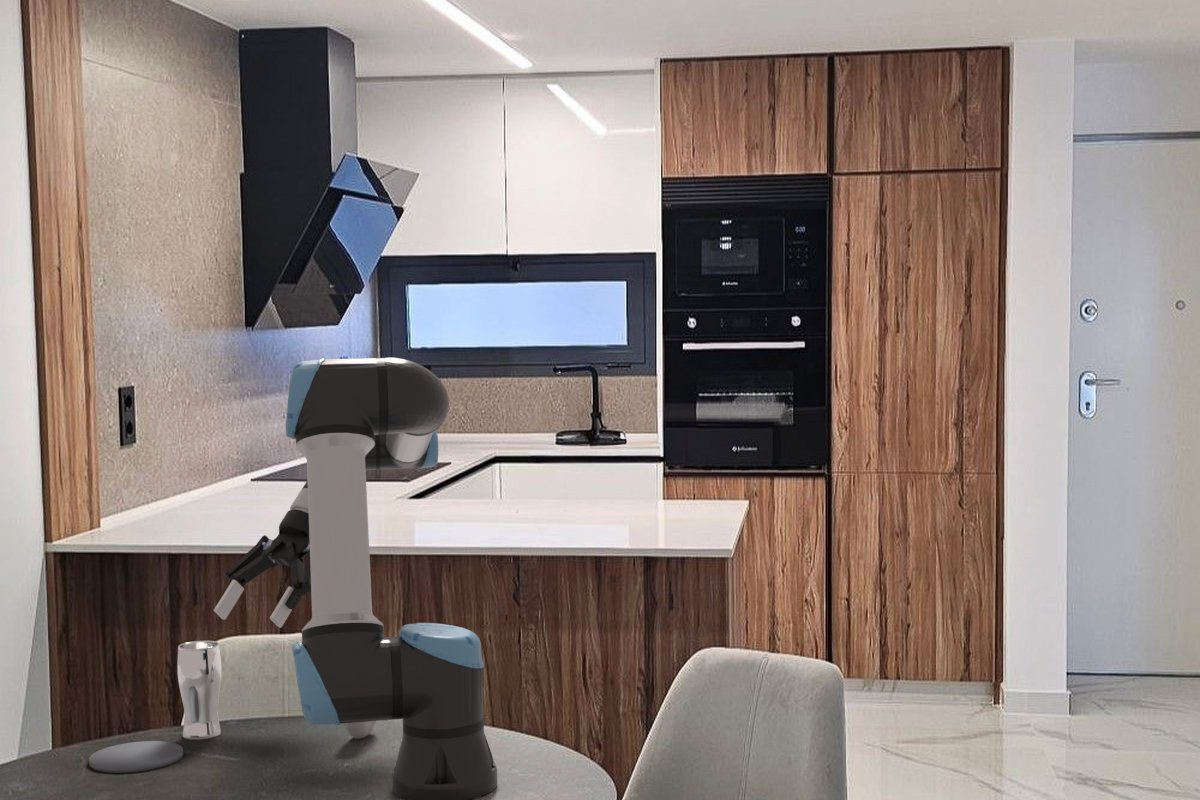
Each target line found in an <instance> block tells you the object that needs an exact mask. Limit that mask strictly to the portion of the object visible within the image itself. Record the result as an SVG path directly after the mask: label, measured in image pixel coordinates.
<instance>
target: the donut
mask: <svg viewBox="0 0 1200 800" xmlns="http://www.w3.org/2000/svg"><path fill="white" fill-rule="evenodd" d="M376 722H377V721H367V722H354V723H343V724H344V728H345V730H346V732H347V733H348V735H349V736H351V737H352V738H354V739H362V738H366V737H368V736H369V734H370V733H372V731H373V729H374V727H375V725H376Z"/></svg>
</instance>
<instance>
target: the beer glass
mask: <svg viewBox="0 0 1200 800" xmlns="http://www.w3.org/2000/svg"><path fill="white" fill-rule="evenodd" d="M177 681H178V686H179V691H180V696H181V700H182V706H183V710H184V711H183V713H184V722H183V723H184V724H183V728H182V729H183V730H182V737H183V739H186V740H193V741H198V740H199V741H200V740H208V739H212V738H216V737H218V736H220V735H221V732H222V729H221V726H220V721H219V712H218V710H219V707H218V706H219V699H220V692H221V684H222V657H221V651H220V643H219V641H215V640H194V641H188V642H183V643H181V644H178V646H177Z"/></svg>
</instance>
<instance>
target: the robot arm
mask: <svg viewBox="0 0 1200 800" xmlns="http://www.w3.org/2000/svg"><path fill="white" fill-rule="evenodd" d="M286 407H287V408H286V421H285V436H286V437H287V438H289V439H291V440H295V450H296V451H297V452H299V454H301V455H302V456H303V457H304V458H305V459H306V470H307V471H306V474H307V476H306V479H307V480H306V482H305V483H304V485H303V487H302V488H301V490H300V491H299V492H298V494H297V496H296V497H295V498H294V500H293V502H292V503H291V504H290V507H289V510H288V511H287V512H286V514H285V515H284V517H283V518H282V520H281V522H280V523H279V526H278V535H277V536H276V537H275V538H274V539H271V538H269V537H268V536H267V535H265V534H264V535H263V536H262V537H260V539H259V540H258V541H257V543H256V544H255V545H254V546H253V547H252V548H251V549H249V551H248V552H246V553H245V554H244V555H243V556H241V558H240V559H238V560H237V561H236V562H235V563H234V564H233V565H231V567H230V568H228V569H227V570H226V571H225V572H224V576H225V577H226V578H227V579H228V580H229V583H227V586H226V587H225V589H224V590H223V592H222V593H221V598H220V599H219V601H218V602H217V604H216V606H215V607H214V609H213V611H214V613H215V614H216V615H217V616H218V617H219V618H220V619H221V620H224V621H225V620H226V619H227V618H228V616H229V615H230V613H231V611H232V610H233V608H234V607H235V605H236V604H237V602H238V600H239V599H240V597H241V595H242V594H243V592H244V591H245V588H244V586H245V585H247V584H248V583H249V582H250V581H253V580H254V579H255V578H257V577H258V576H259V575H261V574H263V573H264V572H266V571H267V570H268V569H270V568H275V567H277V566H287V567H290V571H291V572H290V573H291V579H292V583H290V584H291V586H288V587H287V588H286V590H285V592H284V594H283V595H282V597H281V598H280V600H279V602H277V605H276V606H275V609H274V610H273V612H272V613H271V615H270V617H269V619H270V621H271V622H272V623H273V624H274V625H276V627H277V628H281V629H282V628H283V626H284V624H285V623H286V620H287V619H288V618H289V616H290V614H291V612H292V610H295V609H296V607H297V606H298V604H299V602H300V601H301V599H302V597H303V596H305V595H306V594H307V593H310V595H311V596H310V597H311V618H310V620H309V621H308V622H307V623H306V624H305V625H304V626H303V628H302V629H301V641H296V643H293V644H292V647H291V649H292V650H291V651H292V657H293V662H294V663H293V664H294V670H295V674H296V675H295V676H296V681H297V682H296V683H297V688H298V693H299V699H300V705H301V706H300V707H301V711H302V715H303V717H304V719H305V721H307V722H308V723H309V724H312V725H336V726H340V725H341V724H344V723H354V722H367V721H376V722H377V721H392V720H402V739H401V744H400V746H399V749H398V750H399V751H398V754H397V758H396V763H395V766H394V768H393V770H392V774H391V786H392V787H391V789H392V790H391V791H392V792H393V793H394V794H395V795H396V796H397V797H400V798H402V799H404V800H473V799H476V798H479V797H482V796H485V795H487V794H489V793H491V792H492V791H493V790H495V789H496V788H497V786H498V768H497V765H496V763H495V761H494V757H493V755H492V752H491V747H490V745H489V741H488V739H487V736H486V733H485V724H484V723H485V722H484V721H485V720H484V719H485V718H484V716H485V715H484V714H485V713H484V695H483V693H484V690H483V689H484V688H483V668H484V665H485V663H484V661H483V654H482V643H481V640H480V638H479V636H478V635H477V634H476V633H475V632H473V631H472V630H469V629H467V628H465V627H461V626H456V625H451V624H445V623H444V624H443V623H435V622H434V623H433V622H416V623H407V624H404V625H402V626H401V627H400V629H399V631H398V635H399V636H388V637H387V636H385V626H384V623H383V622H382V621H381V620H379V618H378V617H376V616H375V615H374V614H373V613H374V612H373V604H372V603H373V601H372V578H371V577H372V576H371V561H370V559H371V558H370V557H371V556H370V537H369V517H368V516H369V513H368V497H367V495H368V492H367V490H368V489H367V476H366V475H367V471H380V470H381V471H382V470H405V469H406V470H407V469H408V470H410V469H415V470H421V469H423V468H424V469H425V468H426V469H427V468H434V467H435V466H437V464H438V462H439V438H438V437H439V436H438V431H437V430H438V429H440V427H441V426H442V425H443V424H444V422H445V420H446V418H447V415H448V413H449V408H450V398H449V393H448V391H447V388H446V386H445V385H444V384H443V382H442V380H441V379H440V378H439V377H438V376H437V375H436V374H434V373H433V372H432V371H431V370H429V369H428V368H426V367H424V366H422V365H421V364H419V363H417V362H415V361H411V360H409V359H404V358H401V357H399V358H398V357H373V358H372V357H371V358H367V357H366V358H363V357H361V358H326V357H323V358H320V359H312V360H311V359H310V360H301V361H299V362H297V363H296V364H294V366H293V367H292V370H291V375H290V380H289V386H288V395H287V406H286ZM270 555H271V557H270ZM305 557H306V559H305Z"/></svg>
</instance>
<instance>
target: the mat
mask: <svg viewBox="0 0 1200 800" xmlns="http://www.w3.org/2000/svg"><path fill="white" fill-rule="evenodd" d="M183 756H184V750H183V747H182V745H180V744H178V743H175V742H169V741H161V740H147V741H145V740H144V741H132V742H126V743H120V744H115V745H112V746H107V747H104V748H101V749H100V750H97V751H95V752H93V753H92V754H91V755H90V756H89V758H88V766H89V767H90V768H91V769H92V768H93V770H95V771H98V772H102V773H109V774H110V773H112V774H113V773H114V774H119V773H120V774H124V773H137V772H138V773H139V772H145V771H150V770H155V769H156V770H157V769H160V768H164V767H166V766H169V765H173V764H175V763H176V762H178V761H180V760H181V759H182V758H183Z"/></svg>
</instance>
